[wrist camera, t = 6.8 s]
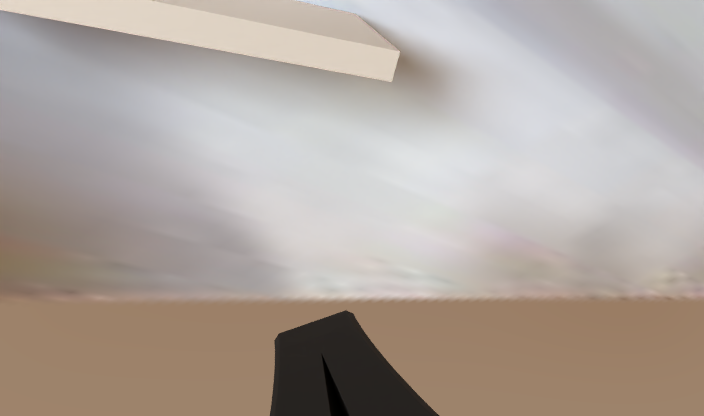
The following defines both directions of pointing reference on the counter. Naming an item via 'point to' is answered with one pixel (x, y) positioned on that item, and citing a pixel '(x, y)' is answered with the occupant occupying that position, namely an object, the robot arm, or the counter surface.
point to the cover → (238, 29)
